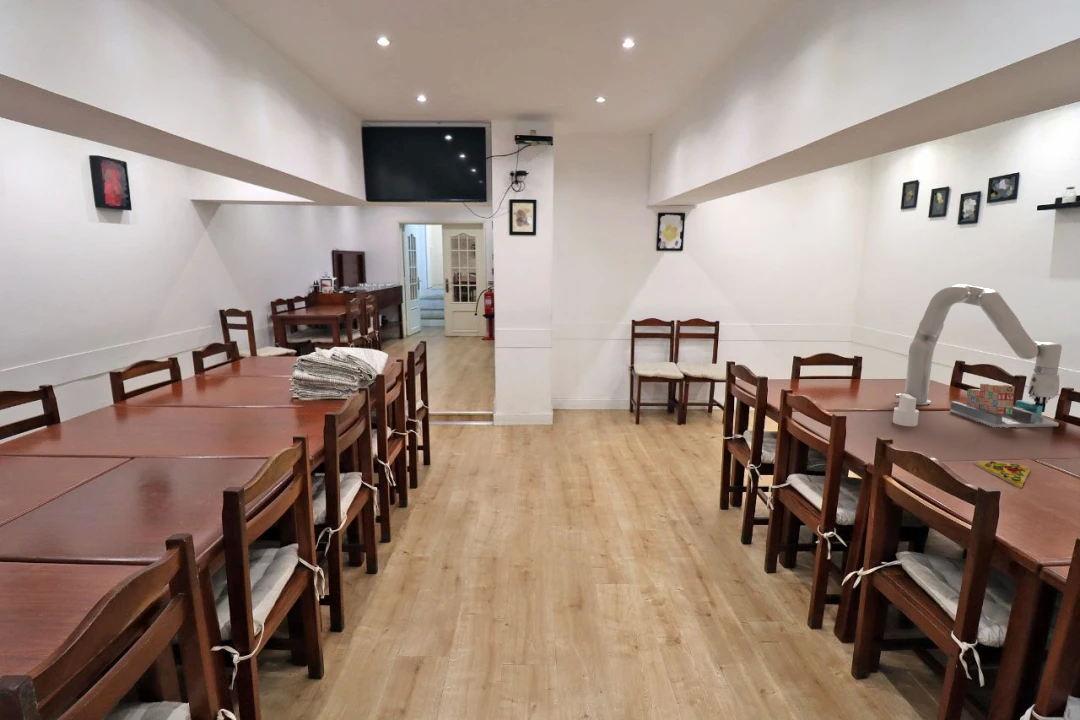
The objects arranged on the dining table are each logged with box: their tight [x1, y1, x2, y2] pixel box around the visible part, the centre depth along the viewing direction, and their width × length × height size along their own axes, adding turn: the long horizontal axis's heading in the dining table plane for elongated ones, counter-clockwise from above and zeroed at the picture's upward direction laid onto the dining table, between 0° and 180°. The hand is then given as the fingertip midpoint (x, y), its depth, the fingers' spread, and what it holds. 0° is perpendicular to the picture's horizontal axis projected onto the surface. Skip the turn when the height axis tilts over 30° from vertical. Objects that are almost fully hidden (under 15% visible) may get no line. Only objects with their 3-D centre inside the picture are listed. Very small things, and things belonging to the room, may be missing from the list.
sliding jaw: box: [1004, 399, 1043, 423], centre depth 243 cm, size 12×24×5 cm, turn 4°
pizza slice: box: [973, 460, 1032, 489], centre depth 181 cm, size 16×21×3 cm
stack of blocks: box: [966, 383, 1015, 415], centre depth 242 cm, size 21×6×12 cm, turn 170°
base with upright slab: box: [892, 393, 920, 427], centre depth 237 cm, size 9×9×12 cm
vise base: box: [949, 400, 1060, 429], centre depth 243 cm, size 28×24×5 cm
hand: (1039, 411), depth 244 cm, fingers closed
